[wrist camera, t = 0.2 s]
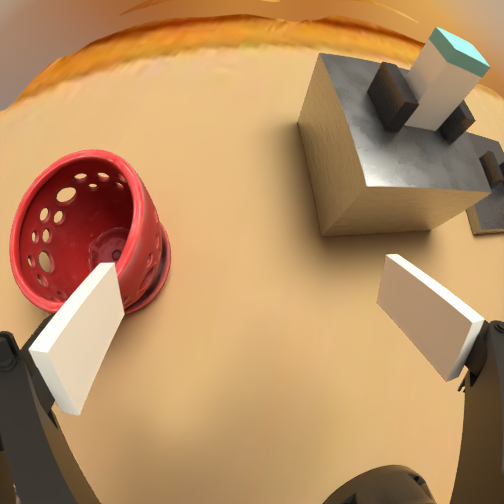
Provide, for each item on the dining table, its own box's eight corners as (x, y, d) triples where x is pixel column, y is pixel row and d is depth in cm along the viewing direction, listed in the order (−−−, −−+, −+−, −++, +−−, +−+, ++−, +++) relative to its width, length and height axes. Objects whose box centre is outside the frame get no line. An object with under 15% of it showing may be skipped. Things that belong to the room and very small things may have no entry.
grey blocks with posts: (523, 230, 35) (581, 200, 19) (322, 245, 31) (396, 171, 15) (492, 146, 39) (538, 105, 24) (296, 116, 35) (325, 19, 20)
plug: (435, 131, 22) (490, 67, 12) (401, 124, 22) (455, 49, 12) (424, 108, 23) (472, 44, 13) (390, 101, 22) (435, 26, 13)
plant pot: (161, 189, 31) (131, 123, 20) (192, 301, 28) (166, 283, 17) (64, 226, 29) (6, 182, 18) (83, 335, 26) (14, 332, 15)
